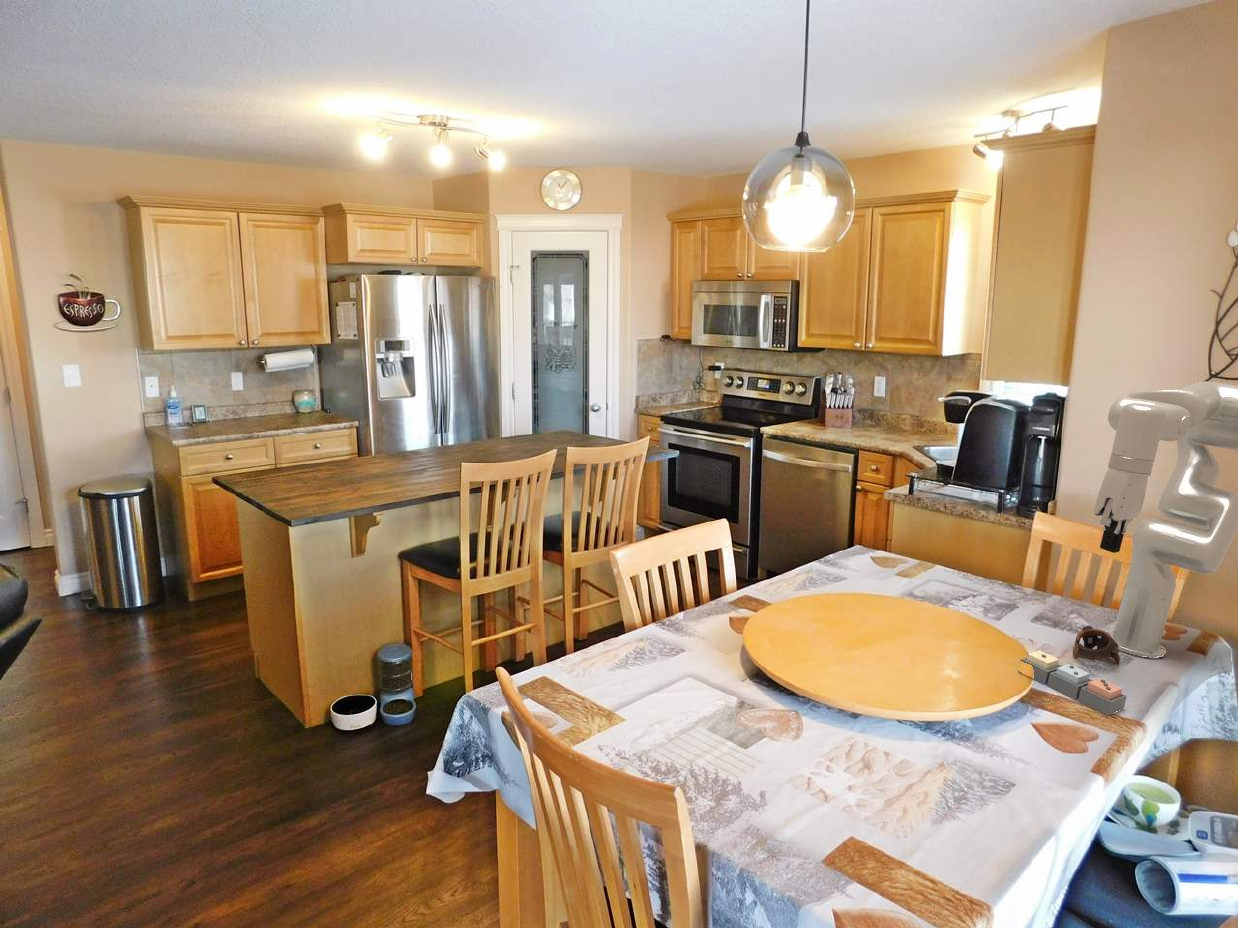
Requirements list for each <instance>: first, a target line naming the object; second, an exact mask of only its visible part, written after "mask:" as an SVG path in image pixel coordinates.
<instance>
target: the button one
mask: <svg viewBox="0 0 1238 928" xmlns="http://www.w3.org/2000/svg"><path fill="white" fill-rule="evenodd" d="M1026 657H1027V661H1028V662H1031V663H1032V664H1035V665H1037V666H1039V667H1041V668H1043V669H1045V670H1049V669H1052V668H1055V667H1058V664H1059V663H1060V659H1059V658H1057V657H1055V656H1054V655H1050V654H1048V653H1046V652H1044V651H1042V650H1038V651H1033V652H1030V653H1027V656H1026Z"/></svg>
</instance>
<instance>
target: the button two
mask: <svg viewBox="0 0 1238 928" xmlns="http://www.w3.org/2000/svg"><path fill="white" fill-rule="evenodd" d="M1061 666H1062V667H1059V668H1057V672H1056V675H1058V676H1060V677H1062V678H1064V679H1066V680H1068V681H1070V682H1072V683H1074V684H1076V685H1079V684H1082V683H1084V682H1087V681H1088V679H1090V675H1091V673H1089V672H1088V671H1085V670H1083V669H1081V668H1079V667H1077V666H1074V665H1072V664H1070V663H1068V664H1065V665H1061Z"/></svg>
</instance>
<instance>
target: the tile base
mask: <svg viewBox="0 0 1238 928" xmlns="http://www.w3.org/2000/svg"><path fill="white" fill-rule="evenodd" d="M1087 687H1088V685H1087V686H1085V687H1082V688H1081V690H1080V694H1079V698H1078V699H1077V702H1079V703H1080V704H1083V705H1084V706H1087V707H1089V708H1091V709H1092V710H1094V711H1096V712H1099V713H1100V714H1103V715H1105V714H1106V715H1105V716H1107V715H1109V716H1111V715H1110V714H1112V713H1114V712H1116V711H1119V710H1121V709H1123V708H1124V709H1125V705H1126V701H1127V697H1128V696H1127V695H1126V694H1124V693H1121V696H1120V697H1118V698H1115V699H1113V700H1108V699H1106V698H1104V697H1101V696H1099V695H1097V694H1095V693H1093V692H1091V691H1089V690H1087ZM1124 709H1123V710H1124ZM1121 711H1122V710H1121ZM1119 712H1120V711H1119ZM1116 713H1117V712H1116ZM1114 714H1115V713H1114ZM1112 715H1113V714H1112Z"/></svg>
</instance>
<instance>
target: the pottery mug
mask: <svg viewBox="0 0 1238 928" xmlns="http://www.w3.org/2000/svg"><path fill="white" fill-rule="evenodd" d="M1081 630H1082V631H1080V632H1079V633H1078V634H1077V635H1076V637H1075V642H1074V646H1073V648H1072V656H1073V658H1074V659H1076V660H1077V658H1080V659H1085V660H1089V661H1095V660H1096V661H1100V660H1108V661H1110V662H1111V661H1112V660H1113V661H1115V663H1116V665H1117V664H1118V665H1117V666H1119V665H1120V662H1121V657H1120V654H1119V652H1120V650H1118V644H1117V642H1116V641H1115V640H1114V639H1113V638H1112V637H1111V636H1110V635H1109V634H1108V633H1107V632H1108V631H1105V630H1103V629H1100V628H1093V627H1092V626H1090V625H1086V626H1083V627H1082V629H1081ZM1081 640H1082V641H1083V644H1082V643H1080V642H1081ZM1095 647H1096V649H1095Z"/></svg>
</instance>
